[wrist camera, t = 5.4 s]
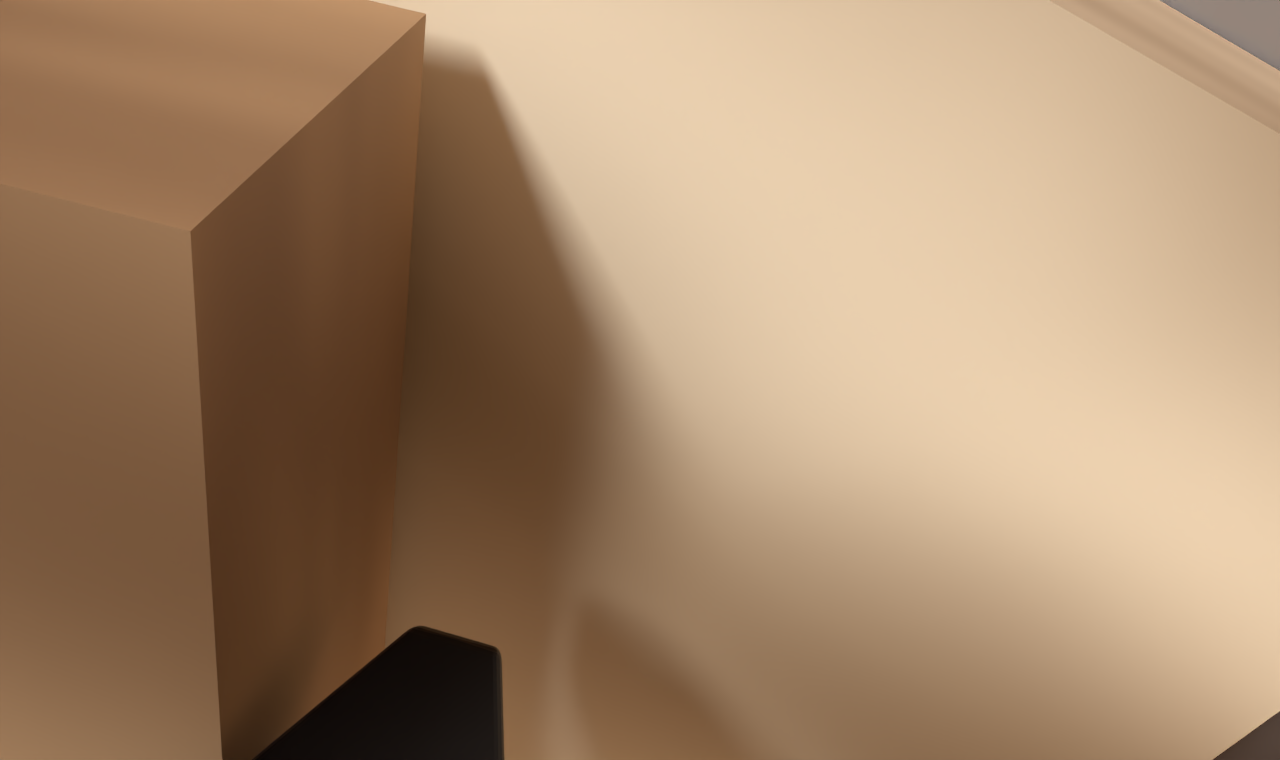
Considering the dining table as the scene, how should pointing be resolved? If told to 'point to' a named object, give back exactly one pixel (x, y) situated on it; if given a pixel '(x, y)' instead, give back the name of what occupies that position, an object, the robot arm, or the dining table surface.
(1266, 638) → the stool board
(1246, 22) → the dining table surface
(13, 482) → the stool leg
